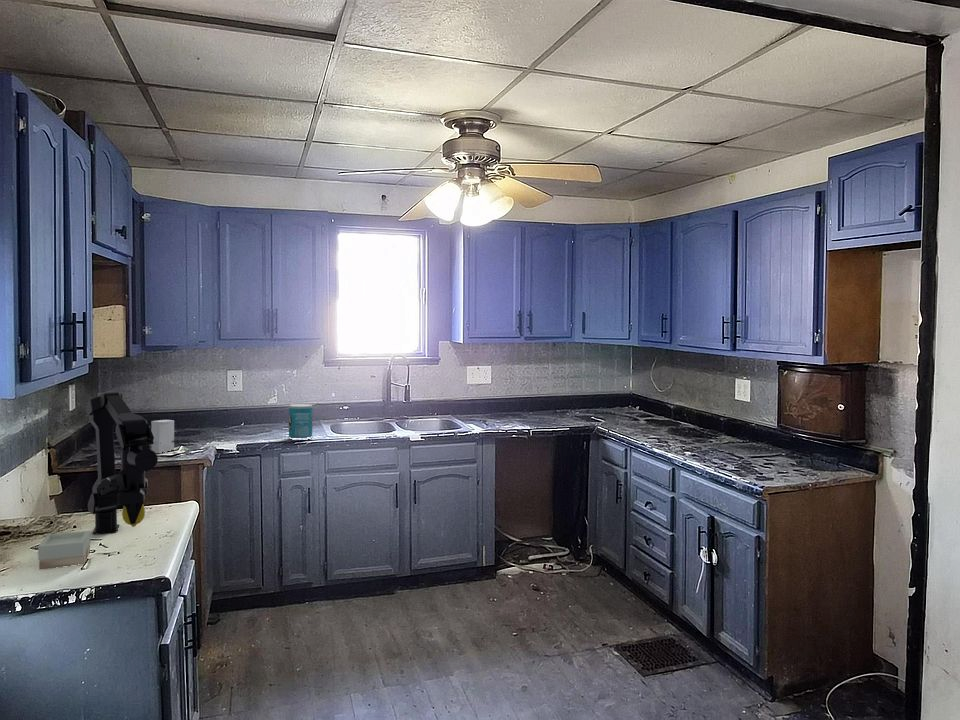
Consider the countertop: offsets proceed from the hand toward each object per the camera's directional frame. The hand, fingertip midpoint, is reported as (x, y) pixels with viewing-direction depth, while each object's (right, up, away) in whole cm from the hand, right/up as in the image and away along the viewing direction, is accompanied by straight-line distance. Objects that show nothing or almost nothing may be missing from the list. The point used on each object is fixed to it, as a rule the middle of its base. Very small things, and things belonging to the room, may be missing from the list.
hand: (133, 520), depth 187 cm
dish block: (-14, -6, -8) cm, 17 cm away
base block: (-14, -9, -7) cm, 18 cm away
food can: (+1, +2, +171) cm, 171 cm away
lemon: (0, -2, 0) cm, 2 cm away
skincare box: (-53, +1, +131) cm, 141 cm away
